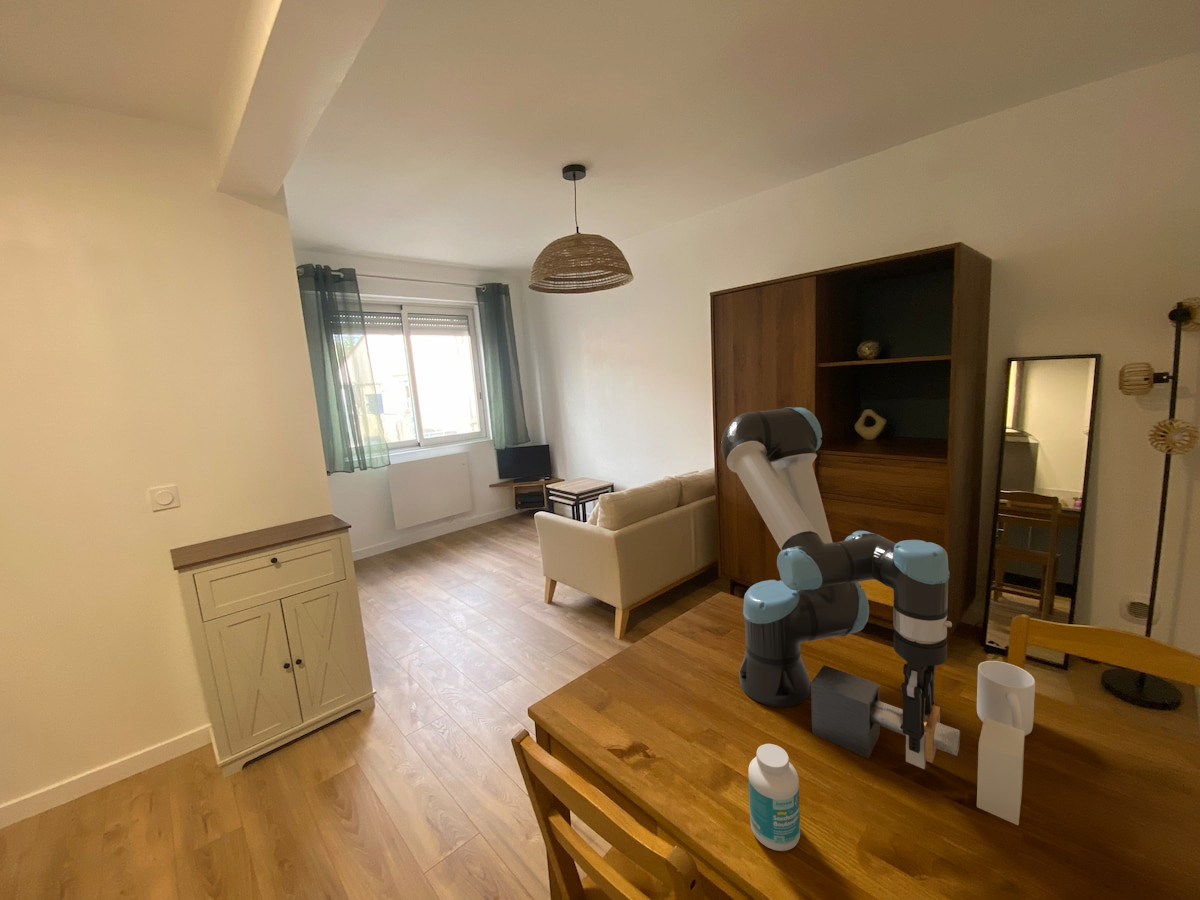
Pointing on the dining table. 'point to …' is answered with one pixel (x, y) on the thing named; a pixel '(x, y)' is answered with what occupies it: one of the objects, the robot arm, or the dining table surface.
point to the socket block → (1000, 770)
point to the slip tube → (933, 729)
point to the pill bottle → (774, 798)
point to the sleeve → (844, 710)
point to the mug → (1006, 695)
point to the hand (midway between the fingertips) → (918, 755)
